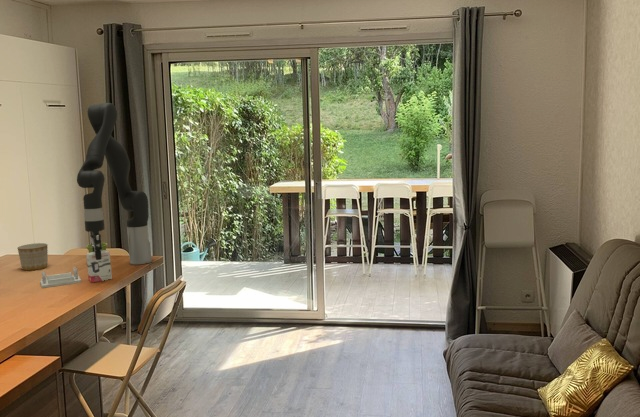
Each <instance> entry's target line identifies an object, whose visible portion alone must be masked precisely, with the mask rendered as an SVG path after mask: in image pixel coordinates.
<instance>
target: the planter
mask: <svg viewBox="0 0 640 417" xmlns="http://www.w3.org/2000/svg"><path fill="white" fill-rule="evenodd" d="M17 252H18V256H19V258H18V259H19V261H20V267H21V269H22V270H24V271H29V270H30V271H38V270H42V269H46V268H47V267H48V264H49V263H48V257H49V256H48V255H49V253H48V252H49V251H48V244H47V243H43V242H42V243H40V242H38V243H37V242H36V243H29V244H24V245H23V244H22V245H19V246H17Z"/></svg>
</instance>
